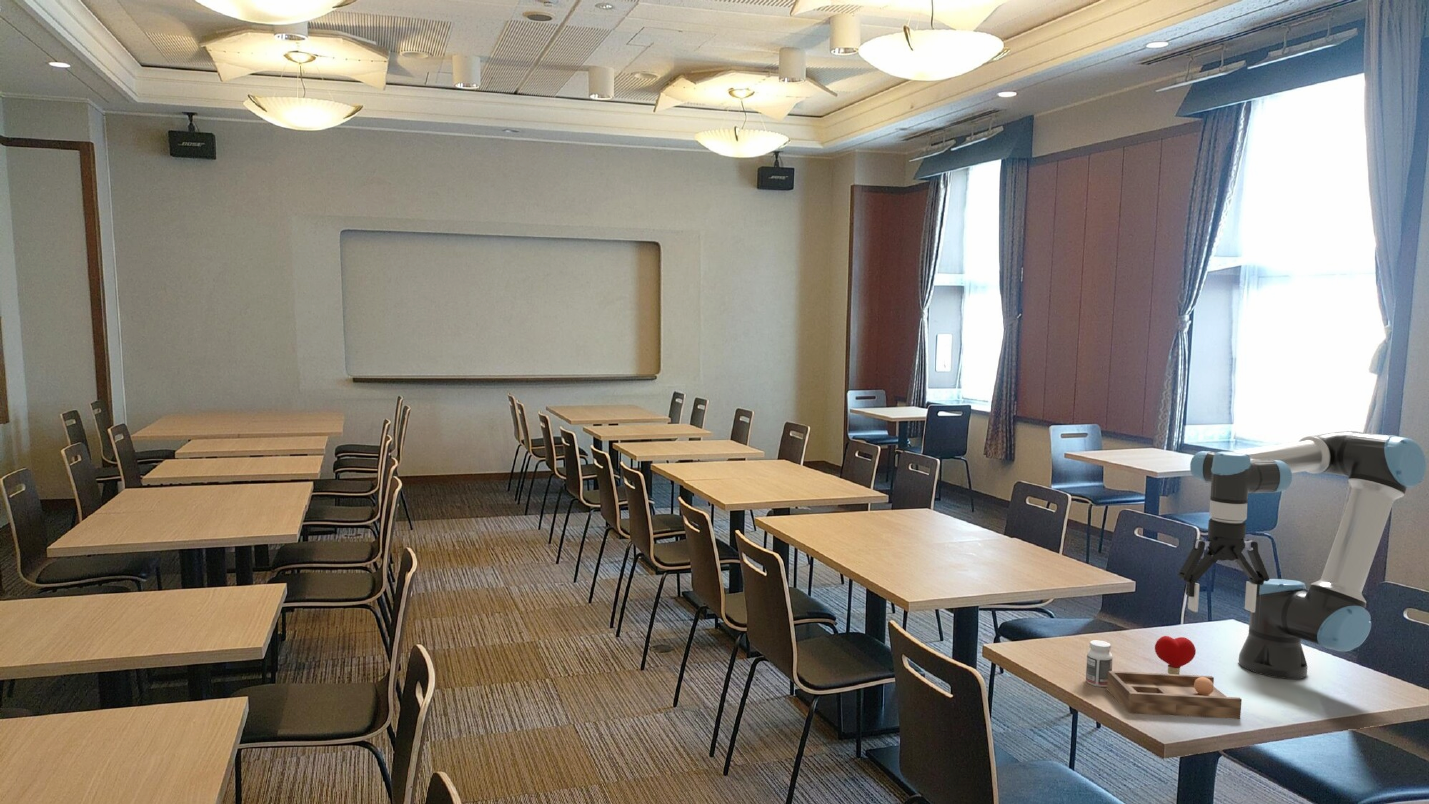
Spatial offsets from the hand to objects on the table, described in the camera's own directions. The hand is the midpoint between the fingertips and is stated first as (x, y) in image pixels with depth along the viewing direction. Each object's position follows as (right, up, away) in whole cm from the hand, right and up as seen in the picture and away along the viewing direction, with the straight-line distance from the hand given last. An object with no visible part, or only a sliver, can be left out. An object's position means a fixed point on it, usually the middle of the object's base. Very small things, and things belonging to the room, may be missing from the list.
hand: (1221, 610), depth 213 cm
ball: (-5, -19, -1) cm, 20 cm away
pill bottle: (-24, -20, +11) cm, 33 cm away
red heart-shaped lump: (-3, -21, +17) cm, 27 cm away
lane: (-12, -21, 0) cm, 24 cm away
